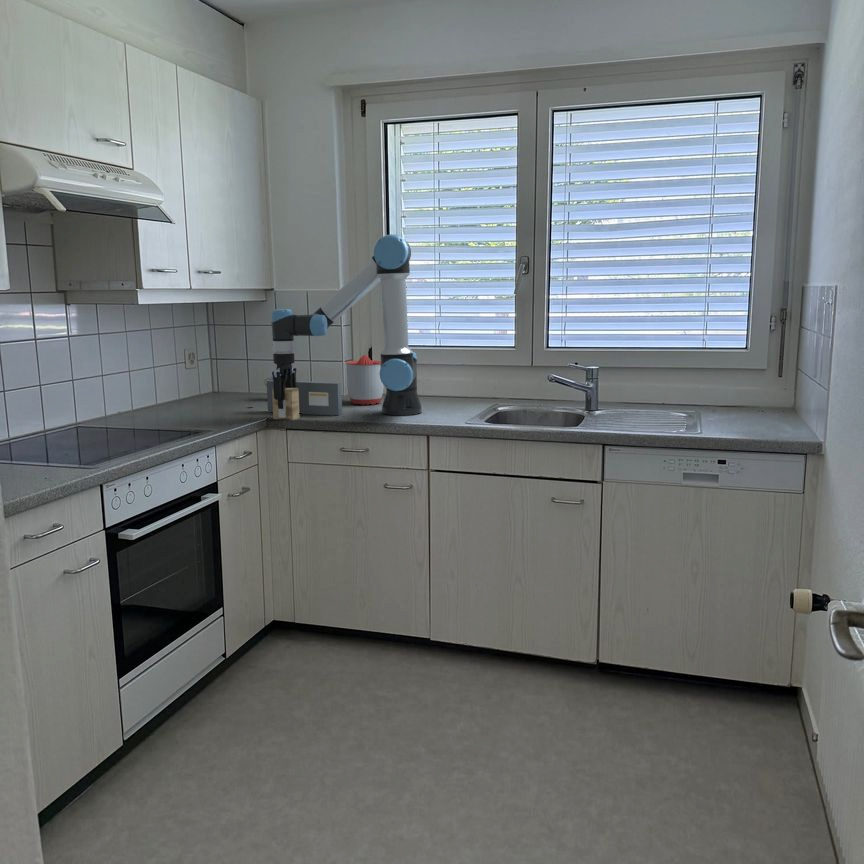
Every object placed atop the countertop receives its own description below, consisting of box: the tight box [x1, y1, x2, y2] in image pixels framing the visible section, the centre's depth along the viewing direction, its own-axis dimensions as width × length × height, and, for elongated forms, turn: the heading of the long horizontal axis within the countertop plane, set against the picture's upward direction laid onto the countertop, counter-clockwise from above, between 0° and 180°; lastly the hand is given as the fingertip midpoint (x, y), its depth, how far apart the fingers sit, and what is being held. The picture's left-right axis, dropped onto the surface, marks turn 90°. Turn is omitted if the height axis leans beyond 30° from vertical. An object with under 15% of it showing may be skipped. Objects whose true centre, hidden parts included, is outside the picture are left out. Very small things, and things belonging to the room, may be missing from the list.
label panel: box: [266, 379, 343, 417], centre depth 295 cm, size 30×4×12 cm, turn 71°
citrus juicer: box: [345, 354, 385, 406], centre depth 318 cm, size 16×17×20 cm
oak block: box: [272, 388, 301, 421], centre depth 285 cm, size 8×5×11 cm, turn 71°
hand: (286, 416), depth 285 cm, fingers closed on oak block, 5 cm apart
